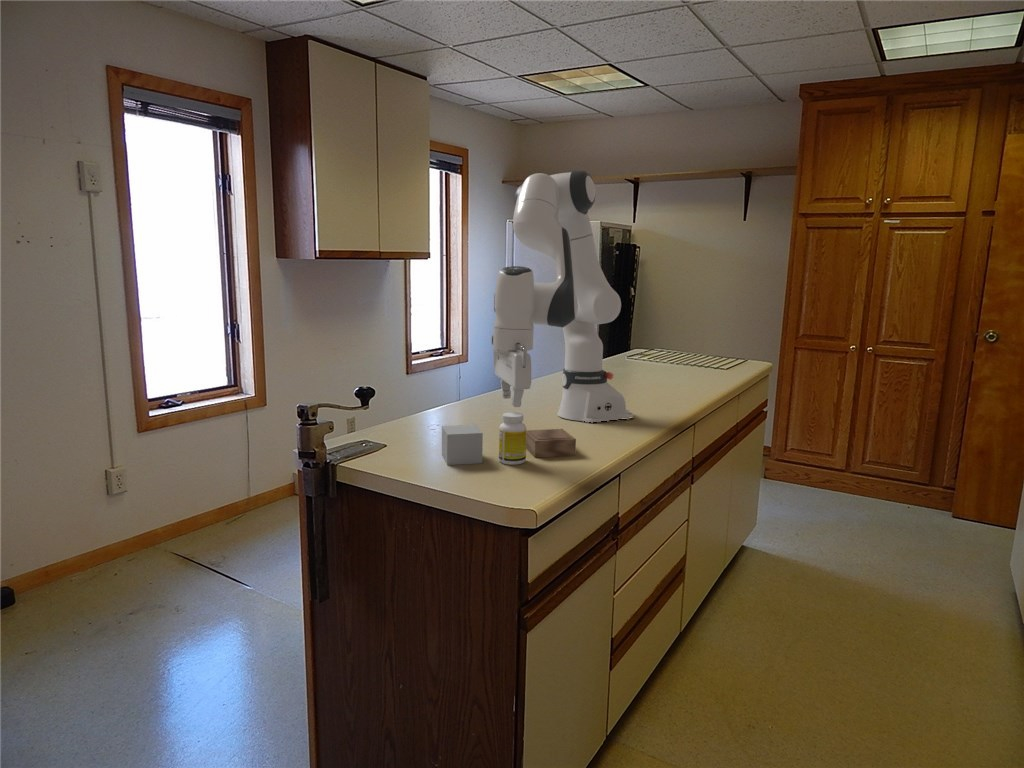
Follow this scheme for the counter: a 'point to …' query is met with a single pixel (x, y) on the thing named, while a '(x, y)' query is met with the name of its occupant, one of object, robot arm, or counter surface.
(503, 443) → the pill bottle
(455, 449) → the grey pedestal
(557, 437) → the walnut base
